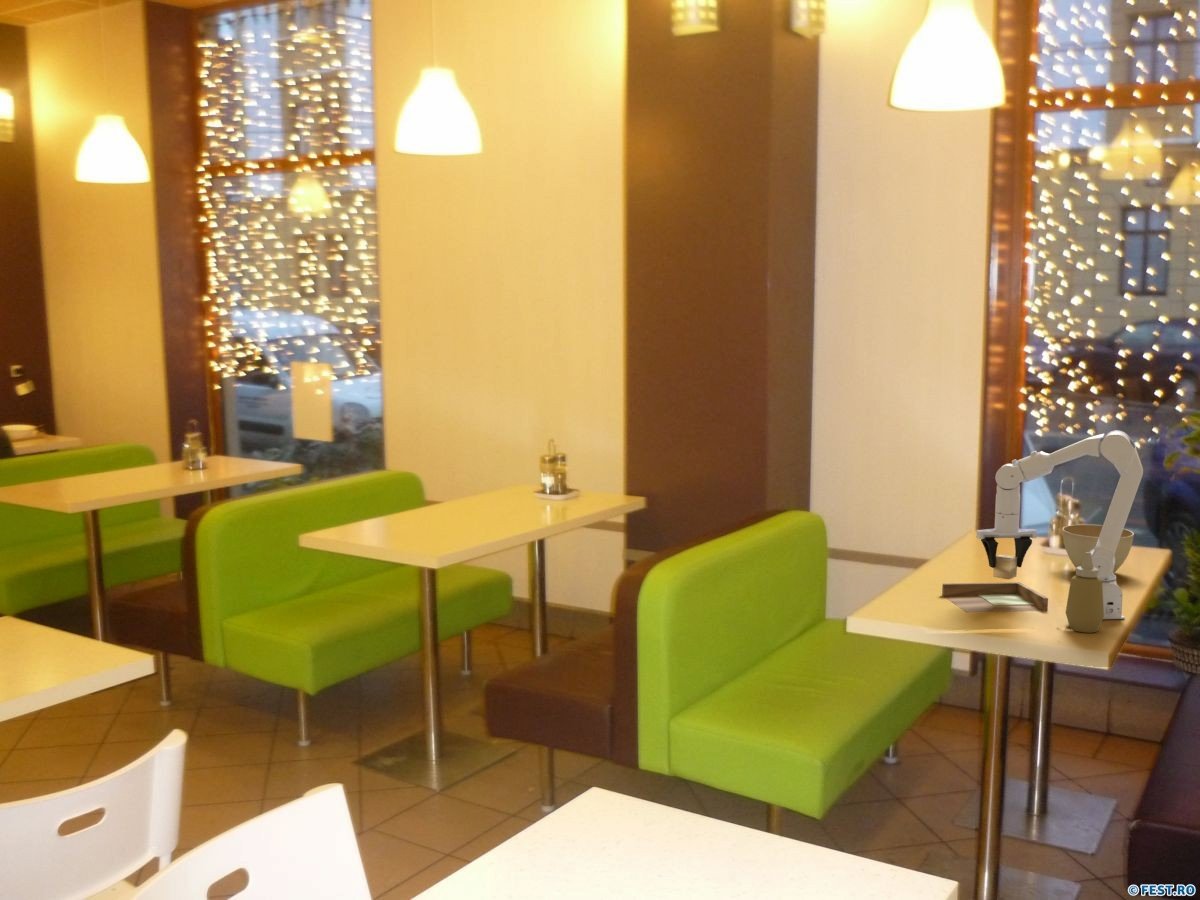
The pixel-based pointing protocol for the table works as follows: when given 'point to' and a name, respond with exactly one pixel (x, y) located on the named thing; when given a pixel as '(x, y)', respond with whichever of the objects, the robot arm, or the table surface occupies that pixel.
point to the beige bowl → (1093, 543)
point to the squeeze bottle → (1085, 598)
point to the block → (1005, 567)
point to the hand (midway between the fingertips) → (1005, 566)
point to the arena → (994, 597)
